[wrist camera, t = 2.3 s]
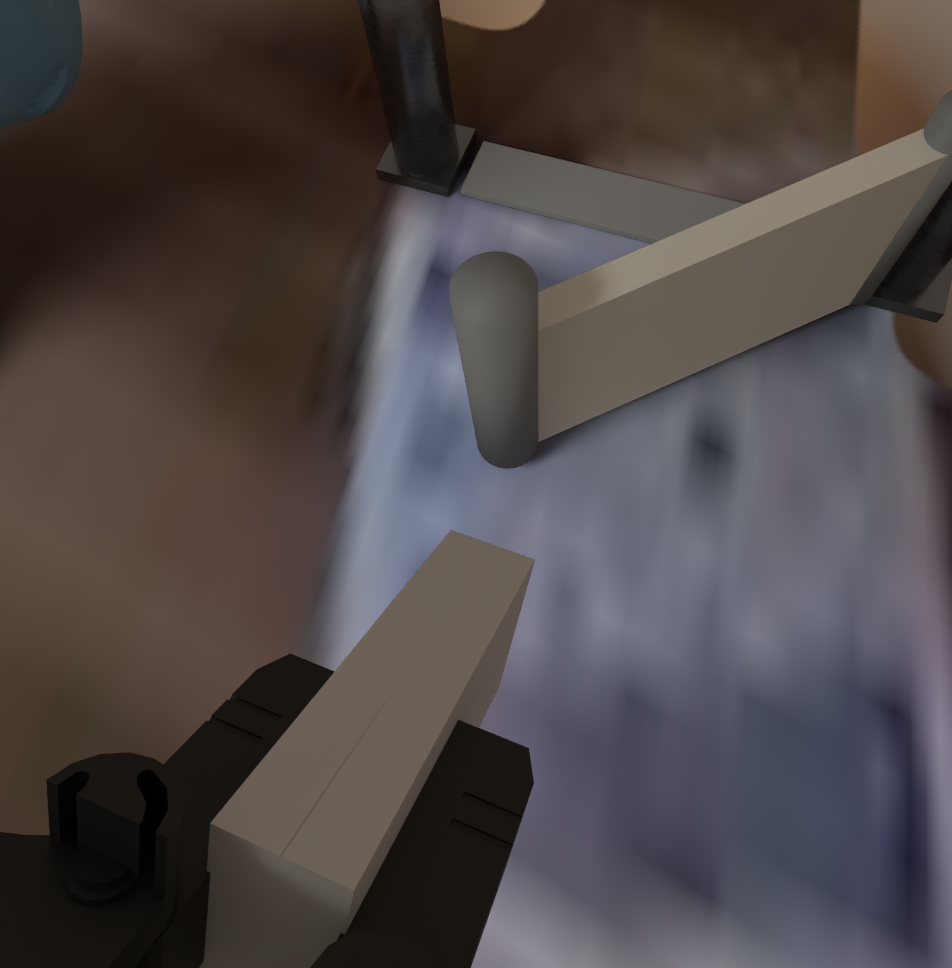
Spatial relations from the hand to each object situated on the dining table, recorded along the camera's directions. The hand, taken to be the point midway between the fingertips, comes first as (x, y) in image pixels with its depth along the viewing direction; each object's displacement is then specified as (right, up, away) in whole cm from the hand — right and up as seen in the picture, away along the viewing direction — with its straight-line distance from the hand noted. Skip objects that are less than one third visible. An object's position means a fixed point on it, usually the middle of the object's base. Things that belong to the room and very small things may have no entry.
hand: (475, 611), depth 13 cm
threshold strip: (+8, +14, +21) cm, 26 cm away
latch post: (-2, +18, +23) cm, 29 cm away
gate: (+8, +7, +17) cm, 20 cm away
